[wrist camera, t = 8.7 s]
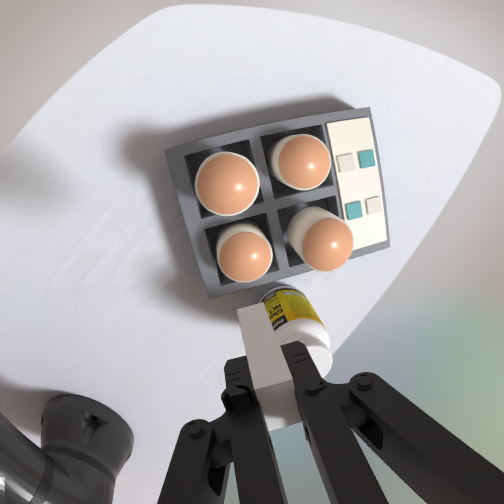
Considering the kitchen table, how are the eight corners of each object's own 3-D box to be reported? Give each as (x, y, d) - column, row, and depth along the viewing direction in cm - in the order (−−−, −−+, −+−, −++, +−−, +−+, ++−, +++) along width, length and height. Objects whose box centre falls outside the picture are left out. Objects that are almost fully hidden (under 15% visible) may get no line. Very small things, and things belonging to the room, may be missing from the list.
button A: (223, 270, 34) (225, 289, 30) (210, 225, 33) (210, 239, 28) (268, 258, 35) (278, 275, 30) (258, 213, 33) (266, 224, 28)
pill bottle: (264, 278, 36) (287, 332, 25) (314, 290, 37) (352, 342, 27) (248, 326, 37) (263, 389, 27) (296, 335, 39) (324, 395, 28)
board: (208, 286, 35) (209, 300, 32) (168, 149, 30) (164, 150, 27) (377, 239, 36) (391, 248, 33) (356, 109, 31) (371, 106, 28)
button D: (272, 189, 32) (283, 196, 28) (261, 141, 31) (270, 140, 26) (319, 178, 33) (336, 184, 28) (309, 131, 31) (325, 129, 26)
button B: (204, 212, 30) (204, 224, 25) (190, 159, 28) (187, 162, 23) (257, 198, 30) (266, 207, 25) (244, 145, 28) (251, 145, 24)
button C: (292, 261, 32) (306, 280, 28) (282, 213, 31) (295, 225, 26) (338, 248, 33) (358, 264, 28) (331, 201, 31) (351, 210, 26)
